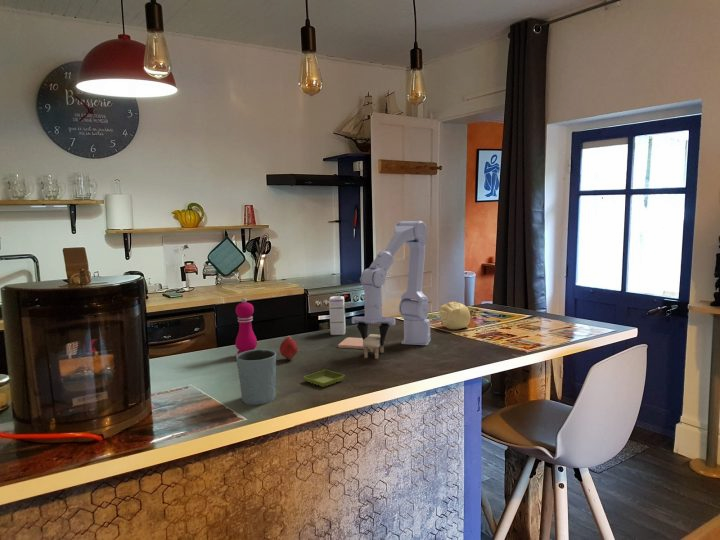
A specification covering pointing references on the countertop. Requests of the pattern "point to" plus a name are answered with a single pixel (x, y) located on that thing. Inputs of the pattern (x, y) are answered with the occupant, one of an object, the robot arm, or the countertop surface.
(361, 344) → the board
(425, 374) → the countertop surface
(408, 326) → the robot arm
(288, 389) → the countertop surface
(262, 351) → the grey cup
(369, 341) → the stool
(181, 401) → the countertop surface
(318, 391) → the countertop surface
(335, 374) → the saucer
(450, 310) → the pale yellow round lump
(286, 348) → the pomegranate
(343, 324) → the syrup box
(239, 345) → the pepper mill
